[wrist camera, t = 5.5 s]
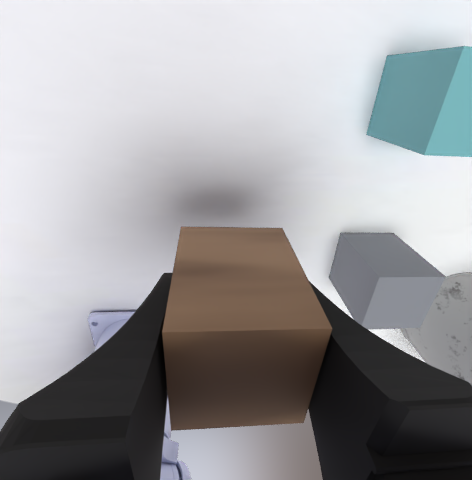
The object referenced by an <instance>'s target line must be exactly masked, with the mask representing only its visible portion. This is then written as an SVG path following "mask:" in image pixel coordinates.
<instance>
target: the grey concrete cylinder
mask: <svg viewBox="0 0 472 480" xmlns="http://www.w3.org/2000/svg"><path fill="white" fill-rule="evenodd" d="M401 331H402V333H403V335H404V336H405V338H406V339H408V340H409V341H410V343H411V344H412V345H413V347H414V348H415V349H416V350H417V352H418V353H419V354H420V356H421V357H422V358H423V360H424V361H425V362H426V363H427V364H429V365H431V366H433V367H435V368H438V369H440V370H442V371H444V372H447V373H449V374H451V375H454V376H456V377H458V378H460V379H463V380H465V381H467V382H469V383H470V384H471V385H472V273H460V274H455V275H451V276H448V277H445V279H444V281H443V283H442V285H441V287H440V289H439V291H438V293H437V295H436V297H435V299H434V301H433V303H432V305H431V307H430V309H429V311H428V313H427V315H426V317H425V319H424V321H423V323H422V325H421V327H420V328H401Z"/></svg>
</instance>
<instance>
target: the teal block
mask: <svg viewBox="0 0 472 480" xmlns="http://www.w3.org/2000/svg"><path fill="white" fill-rule="evenodd" d="M366 135H369V136H372V137H375V138H378V139H380V140H383V141H386V142H389V143H392V144H394V145H397V146H400V147H403V148H406V149H408V150H411V151H414V152H417V153H420V154H422V155H434V156H461V157H472V47H468V46H462V47H454V48H446V49H437V50H429V51H421V52H413V53H405V54H397V55H389V56H387V58H386V62H385V66H384V69H383V73H382V77H381V81H380V85H379V89H378V92H377V96H376V100H375V104H374V108H373V112H372V115H371V119H370V123H369V127H368V131H367V134H366Z"/></svg>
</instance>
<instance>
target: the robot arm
mask: <svg viewBox="0 0 472 480" xmlns="http://www.w3.org/2000/svg"><path fill="white" fill-rule="evenodd" d="M172 274H173V273H164V274H163V275H162V276H161V278H160V279H159V281H158V283H157V284H156V286H155V287H154V288H153V290H152V291H151V293H150V294H149V295H148V297H147V298H146V299H145V301H144V302H143V303H142V304H141V306H140V307H139V308H138V309H137V310H136V312H93V313H90V314H89V316H88V322H89V326H90V330H91V333H92V337H93V341H94V345H95V351H94V353H93V354H91V355H90V356H89V357H88V358H86V359H85V360H84V361H82V362H81V363H80V364H78V365H77V366H76V367H74V368H73V369H72V370H70V371H69V372H68V373H66V374H65V375H63V376H62V377H60V378H59V379H57V380H56V381H54V382H53V383H51V384H50V385H48V386H46V387H45V388H43V389H42V390H40V391H38V392H37V393H35V394H34V395H32V396H30V397H29V398H27V399H26V400H24V401H22V402H20V403H19V404H18V406H17V407H16V409H15V410H14V412H13V413H12V414H11V416H10V417H9V418H8V420H7V422H6V423H5V425H4V426H3V428H2V429H1V431H0V480H192V478H191V476H190V472H189V469H188V467H187V465H186V464H185V463H184V462H183V461H178V460H177V456H178V442H175V441H172V440H170V436H171V424H170V413H169V403H168V392H167V381H166V370H165V359H164V348H163V337H162V330H163V325H164V319H165V313H166V308H167V302H168V297H169V291H170V286H171V280H172ZM309 283H310V285H311V287H312V289H313V291H314V293H315V295H316V297H317V299H318V301H319V303H320V305H321V307H322V309H323V311H324V313H325V315H326V317H327V319H328V321H329V323H330V325H331V327H332V331H331V335H330V338H329V341H328V345H327V348H326V351H325V354H324V358H323V361H322V364H321V367H320V371H319V374H318V377H317V381H316V384H315V387H314V390H313V394H312V397H311V400H310V404H309V407H308V409H309V413H310V418H311V422H312V427H313V431H314V436H315V441H316V446H317V451H318V456H319V461H320V465H321V471H322V477H323V480H472V385H471V384H470V383H469V382H467V381H465V380H463V379H460V378H458V377H456V376H454V375H451V374H449V373H447V372H444V371H442V370H440V369H438V368H435V367H433V366H431V365H429V364H427V363H425V362H423V361H421V360H419V359H417V358H415V357H413V356H411V355H409V354H407V353H405V352H404V351H402V350H400V349H398V348H396V347H395V346H393V345H391V344H390V343H388V342H386V341H385V340H383V339H381V338H380V337H378V336H376V335H375V334H373V333H372V332H370V331H369V330H368V329H366V328H365V327H363V326H362V325H360V324H359V323H357V322H356V321H355V320H353V319H352V318H351V317H349V316H348V315H347V314H346V313H344V312H343V311H342V310H341V309H339V308H338V307H337V306H336V305H335V304H334V303H332V302H331V301H330V300H329V299H328V298H327V297H326V296H324V295H323V294H322V293H321V292H320V291H319V290H318V289H317V288H316V287H315V286H314V285H313V284H312V283H311V282H309ZM95 322H97V323H95Z"/></svg>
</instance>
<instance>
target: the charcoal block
mask: <svg viewBox="0 0 472 480" xmlns="http://www.w3.org/2000/svg"><path fill="white" fill-rule="evenodd" d="M329 279H330V281H331V282H332V284H333V285H334V287H335V289H336V290H337V292H338V294H339V295H340V297H341V299H342V300H343V302H344V304H345V305H346V307H347V309H348V310H349V312H350V313H351V315H352V317H353V318H354V320H355V321H356V322H357V323H359V324H360V325H362V326H363V327H365V328H366V329H396V328H420V327H421V325H422V323H423V321H424V319H425V317H426V315H427V313H428V311H429V309H430V307H431V305H432V303H433V301H434V299H435V297H436V295H437V293H438V291H439V289H440V287H441V285H442V283H443V281H444V279H445V276H444V275H443V274H442V273H441V272H439V271H438V270H437V269H436V268H435V267H433V266H432V265H431V264H430V263H429V262H427V261H426V260H425V259H424V258H423V257H421V256H420V255H419V254H418V253H417V252H415V251H414V250H413V249H412V248H411V247H409V246H408V245H407V244H406V243H405V242H403V241H402V240H401V239H400V238H399V237H397V236H396V235H395V234H394V233H340V237H339V241H338V245H337V249H336V253H335V256H334V260H333V264H332V268H331V272H330V276H329Z"/></svg>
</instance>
